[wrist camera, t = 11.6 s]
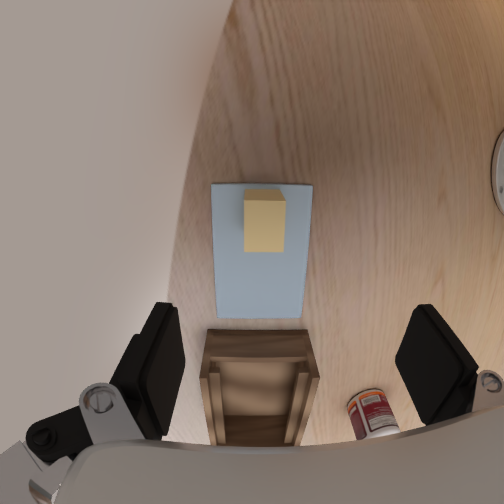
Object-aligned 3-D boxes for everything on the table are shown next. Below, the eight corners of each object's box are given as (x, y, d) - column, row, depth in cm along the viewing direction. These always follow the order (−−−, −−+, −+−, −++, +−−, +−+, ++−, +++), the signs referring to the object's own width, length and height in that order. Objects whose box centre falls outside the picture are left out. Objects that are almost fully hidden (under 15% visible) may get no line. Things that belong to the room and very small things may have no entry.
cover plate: (212, 182, 25) (203, 195, 20) (310, 184, 25) (325, 196, 20) (218, 312, 31) (213, 345, 26) (299, 312, 31) (307, 344, 26)
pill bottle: (360, 415, 39) (378, 469, 29) (338, 406, 37) (354, 466, 27) (390, 394, 37) (414, 448, 27) (370, 382, 36) (394, 443, 25)
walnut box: (207, 329, 31) (199, 378, 24) (307, 329, 31) (319, 377, 24) (216, 411, 37) (212, 453, 30) (291, 411, 37) (297, 453, 31)
